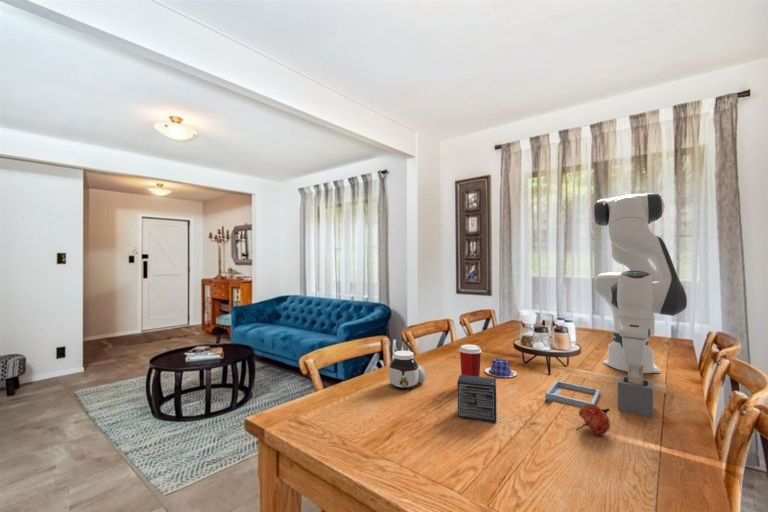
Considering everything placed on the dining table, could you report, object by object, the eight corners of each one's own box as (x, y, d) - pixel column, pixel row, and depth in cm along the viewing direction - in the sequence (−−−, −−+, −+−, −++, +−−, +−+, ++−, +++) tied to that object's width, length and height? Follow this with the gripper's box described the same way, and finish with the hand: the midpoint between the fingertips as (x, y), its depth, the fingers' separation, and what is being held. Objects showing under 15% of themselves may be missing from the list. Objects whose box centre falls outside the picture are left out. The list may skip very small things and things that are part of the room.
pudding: (519, 372, 135) (519, 358, 135) (513, 381, 125) (513, 367, 125) (488, 367, 142) (488, 354, 142) (481, 375, 131) (481, 361, 131)
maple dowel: (628, 405, 102) (628, 361, 102) (643, 408, 99) (643, 364, 99) (627, 409, 99) (627, 364, 99) (643, 412, 97) (643, 367, 97)
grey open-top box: (620, 404, 105) (620, 374, 105) (653, 411, 100) (653, 380, 100) (617, 413, 99) (617, 382, 99) (653, 421, 94) (652, 388, 94)
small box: (496, 413, 99) (496, 377, 99) (496, 424, 92) (496, 385, 92) (459, 408, 102) (459, 373, 102) (457, 418, 96) (457, 380, 96)
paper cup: (479, 383, 122) (479, 344, 122) (483, 391, 115) (483, 350, 115) (457, 382, 123) (457, 343, 123) (460, 390, 115) (460, 349, 116)
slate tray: (556, 387, 118) (556, 380, 118) (600, 397, 110) (600, 389, 110) (545, 400, 107) (545, 393, 107) (593, 412, 99) (593, 404, 99)
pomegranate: (587, 448, 85) (624, 429, 82) (566, 420, 87) (602, 400, 84) (583, 437, 91) (617, 419, 89) (564, 411, 94) (597, 393, 91)
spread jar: (386, 388, 118) (386, 354, 118) (397, 377, 128) (397, 346, 128) (420, 393, 113) (419, 358, 113) (428, 381, 124) (428, 349, 124)
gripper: (624, 320, 109) (625, 363, 109) (618, 331, 93) (619, 381, 93) (649, 322, 105) (650, 367, 105) (647, 334, 89) (648, 387, 89)
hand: (635, 374), depth 99 cm, fingers open, 4 cm apart
